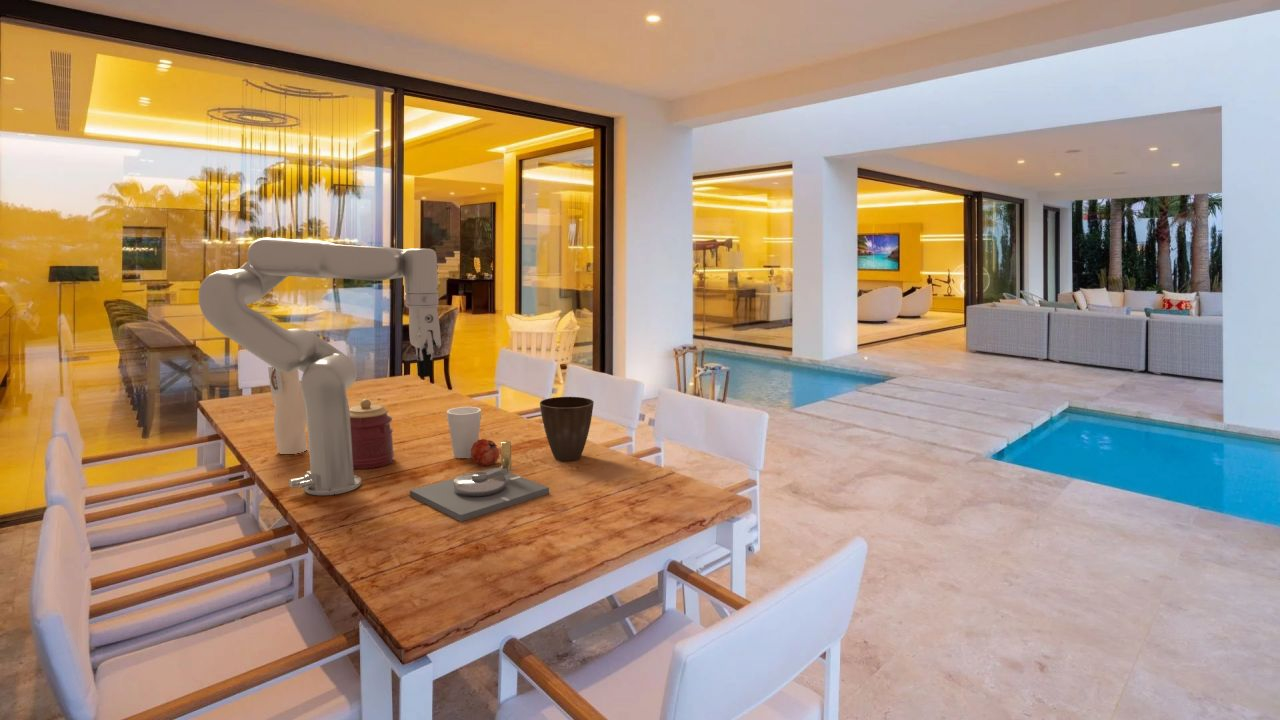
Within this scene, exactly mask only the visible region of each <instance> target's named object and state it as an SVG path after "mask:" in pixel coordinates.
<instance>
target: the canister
mask: <svg viewBox="0 0 1280 720" xmlns="http://www.w3.org/2000/svg"><path fill="white" fill-rule="evenodd" d="M349 410H350V423H351V436H352V452H353V468H354V470H365V469H366V470H367V469H368V468H369V469H376V468H381V467H384V466H387V465H389V464H392V462H393V461H394V456H395V451H394V443H393V439H394V438H393V432H394V430H393V428H392V426H391V422H392V421H393V417H392V416H390V415H389V414H388V413H389V409H388V408H385V407H384V406H383V405H381V404H372V402H371V401H370V400H369V399H365V398H364V399H362V400H361V401H360V405H354V406H352V407H349ZM386 464H387V465H386ZM380 466H381V467H380ZM375 467H376V468H375ZM369 469H368V470H369Z"/></svg>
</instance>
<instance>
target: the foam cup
mask: <svg viewBox="0 0 1280 720" xmlns="http://www.w3.org/2000/svg"><path fill="white" fill-rule="evenodd" d="M481 420H482V409H481V408H479V407H474V406H461V407H453V408H450V409H448V410H446V421H447V423H448V429H449V435H450V439H451V440H450V441H451V446H452V453H453V456H454V458H455V459H460V458H467V459H471V458H472V457H471V448H472V446H473V444H474V443H475V442H477V441H478V440H480V427H481ZM472 459H473V458H472Z"/></svg>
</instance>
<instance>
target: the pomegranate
mask: <svg viewBox="0 0 1280 720" xmlns="http://www.w3.org/2000/svg"><path fill="white" fill-rule="evenodd" d="M497 446H498V445H497V443H495V442H494V441H493V440H488V439H486V438H481V439H478V441H477V442H475V443H474V444H473V446H472V448H471V457H472V459H473V460H474V462H475V463H476V464H477V465H478V466H481V467H487V466H490V465H493V464H495V463H496V462H497V461H498V459H499V457H500V451H499V448H498V447H497Z"/></svg>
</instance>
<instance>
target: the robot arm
mask: <svg viewBox="0 0 1280 720" xmlns="http://www.w3.org/2000/svg"><path fill="white" fill-rule="evenodd" d="M246 256H247V261H246V262H244V264H243V265H241V266H240V267H239V268H237V269H224V270H218V271H215V272H213V273H210V274H209V275H207V276H206V277H205V278H204V279H203V280H202V282H201V284H200V286H199V289H198V304H199V308H200V310H201V312H202V315H203V316H204V318H205V319H206V320H207V322H208V323H209V324H210V325H211V326H212V327H213V328H214V329H216V330H217V331H218V332H220V333H221V334H223V335H224V336H226V337H227V338H228V339H230V340H232V341H233V342H235V343H236V344H238V345H240V347H242V348H243V349H245V350H247V351H248V352H250V353H251V354H252V355H254V356H255V357H257V358H259V360H261V361H263V362H265V363H266V364H268V365H269V366H270V367H273V369H274V368H275V369H277V370H279V371H283V372H290V371H294V370H296V369H298V371H301V372H303V374H302V375H301V381H300V382H301V389H302V394H303V398H304V403H305V409H306V419H307V420H306V428H307V439H308V441H307V443H308V455H309V465H310V467H309V468H310V470H307V471H305V472H306V474H304V475H303V476H302V477H296V478H290V479H289V481H288V482H289V483H288V485H289V487H290V488H297V487H299V488H300V489H302V488H304V492H306V493H307V494H309V495H312V496H333V495H334V494H335V495H340V494H344V493H348V492H352V491H354V490H356V489H358V487H361V484H362V478H361V477H360V476H357V475H355V472H354V470H355V469H354V468H353V452H352V436H351V423H350V410H349V408H350V405H349V400H348V395H347V389H349V388H350V387H351V386H353V385H354V383H355V382H356V379H357V375H358V371H357V366H356V365H355V363H354V362H353V360H352V359H351V358H350V357H349V355H348V356H347V355H346V354H345V353H344V352H342V351H341V350H339V349H337V348H336V347H335V346H333V345H332V344H330V343H329V342H327V341H326V340H325V339H323V338H322V337H320V336H318V335H317V334H315V333H313V332H312V331H309V330H307V329H303V328H296V327H295V328H289V329H287V328H286V329H285V328H284V327H282V326H280V325H278V324H277V323H276V322H274V321H272V320H271V319H270V318H268V317H267V316H265V315H264V314H262V313H260V312H258V311H257V310H254V309H252V308H251V307H249V305H251V304H254V303H257V302H258V301H259V300H261V299H262V298H264V297H265V296H266V295H267V294H268V293H270V292H271V291H272V290H273V289H275V288H276V287H277V286H278V285H279V284H281V283H282V282H283V281H284V280H285V279H287V278H288V277H299V278H317V279H345V280H346V279H348V280H365V281H387V280H394V279H401V278H404V297H405V298H404V299H405V301H404V302H405V307H406V308H408V330H409V331H408V333H409V343H410V345H412V346H413V347H414V349H415V352H416V353H415V355H416V364H417V367H416V369H417V376H418V377H419V378H427V377H433V375H434V370H433V368H434V367H433V355H434V353H435V351H434V348H435V349H440V348H441V346H442V339H441V327H440V318H439V312H438V307H439V287H438V286H439V285H438V284H439V282H438V258H437V253H436V251H435V249H431V248H425V247H424V248H417V247H415V248H414V247H413V248H407V249H404V248H403V249H402V248H396V247H389V246H383V247H382V246H365V245H364V246H363V245H348V244H337V243H334V242H333V243H332V242H329V241H324V240H309V239H308V240H307V239H306V240H305V239H293V238H292V239H291V238H290V239H289V238H277V237H276V238H274V237H262V238H258V239H257V240H254V241H253V242H252V243H251V244H250V245H249V247H248V249H247V253H246Z"/></svg>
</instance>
